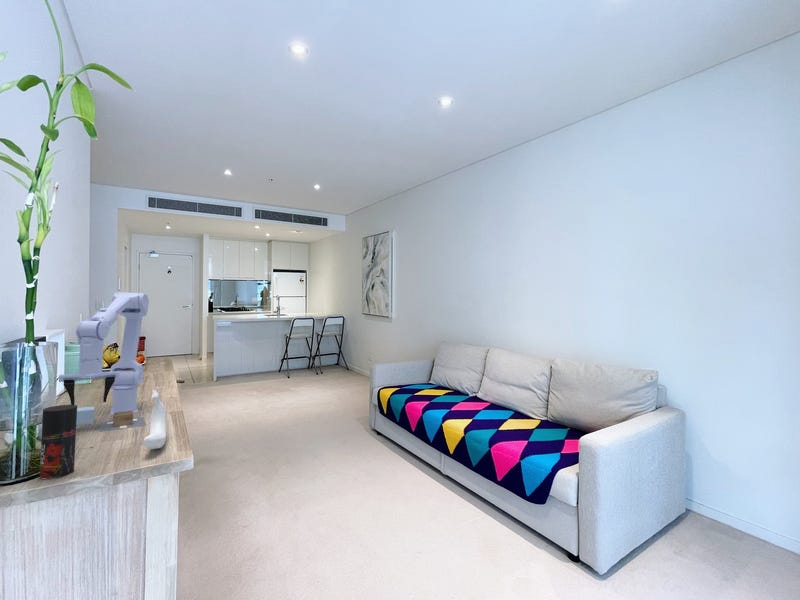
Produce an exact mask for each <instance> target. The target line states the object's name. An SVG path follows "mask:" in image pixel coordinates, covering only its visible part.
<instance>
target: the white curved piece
mask: <svg viewBox="0 0 800 600" xmlns="http://www.w3.org/2000/svg"><path fill="white" fill-rule="evenodd" d="M151 391H152V395H151V399H153V402H154V406H153V407H152V411H151V416H150V421H149V434H148V436H146V437H144V438H143V440H142V442H143V445H144V447H145V448H147V449H150V450H157V449H161V448H162V447H164V445H165V443H166V442H167V441H166V440H167V410H166V407H165V405H164V404H163V402H162V401H161V400H160V395H159V393H158V392H157V391H156V390H155V389H152V390H151Z"/></svg>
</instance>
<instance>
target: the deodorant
mask: <svg viewBox="0 0 800 600" xmlns="http://www.w3.org/2000/svg"><path fill="white" fill-rule="evenodd" d="M77 408H78V405H77V404H74V405H71V404H62V405H61V404H60V405H53V406H48V407H45V408H43V409H42V419H41V421H42V424H41V441H40V443H41V444H40V456H39V457H40V459H39V475H40V477H41V478H47V479H46V480H51V479H50V478H54V479H58V478H62V477H65V476H68V475H70V474H73V473H74V472H75V460H76V459H75V457H76V439H77V438H76V437H77V425H76V421H77ZM40 477H39V478H40ZM41 478H40V479H41ZM48 478H49V479H48Z"/></svg>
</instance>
